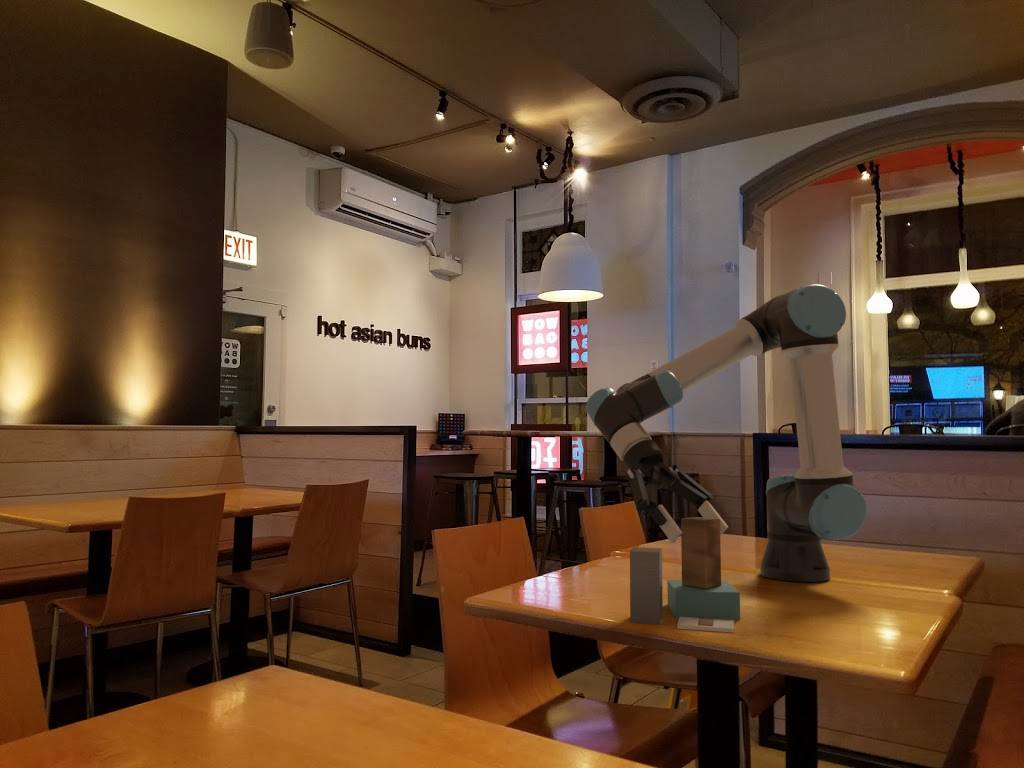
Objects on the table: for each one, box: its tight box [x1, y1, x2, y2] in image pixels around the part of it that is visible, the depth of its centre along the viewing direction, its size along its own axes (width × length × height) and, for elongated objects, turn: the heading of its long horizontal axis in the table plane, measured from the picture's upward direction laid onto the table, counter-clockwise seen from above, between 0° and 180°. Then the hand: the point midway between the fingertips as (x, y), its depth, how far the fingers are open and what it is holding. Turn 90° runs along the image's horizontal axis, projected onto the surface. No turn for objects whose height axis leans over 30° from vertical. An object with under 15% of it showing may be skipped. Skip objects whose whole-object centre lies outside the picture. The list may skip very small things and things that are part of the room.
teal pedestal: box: [666, 579, 741, 621], centre depth 137 cm, size 11×11×5 cm
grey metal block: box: [629, 546, 664, 625], centre depth 130 cm, size 5×5×12 cm
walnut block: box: [680, 516, 722, 588], centre depth 138 cm, size 5×5×12 cm
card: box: [676, 617, 735, 634], centre depth 126 cm, size 9×6×1 cm, turn 74°
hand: (701, 534), depth 137 cm, fingers open, 13 cm apart
